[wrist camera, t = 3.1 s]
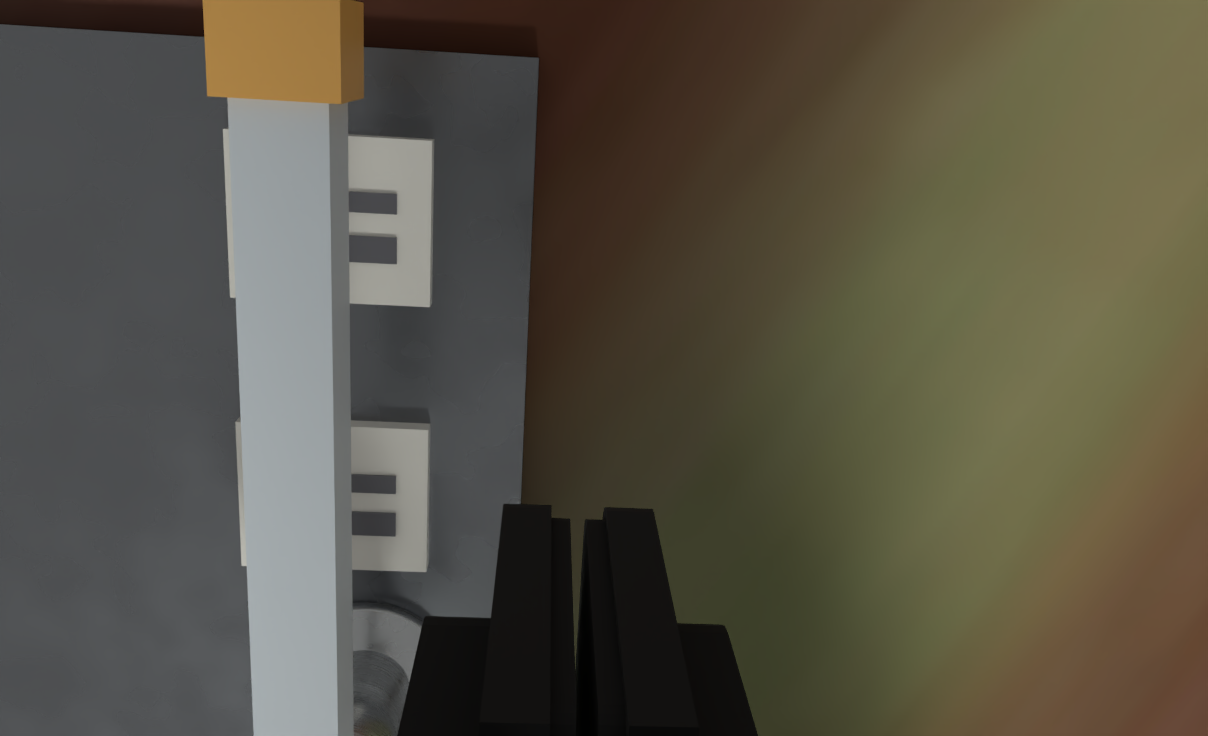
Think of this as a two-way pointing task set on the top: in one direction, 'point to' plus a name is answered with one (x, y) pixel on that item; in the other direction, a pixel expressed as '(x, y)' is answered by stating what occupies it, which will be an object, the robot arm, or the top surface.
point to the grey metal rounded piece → (382, 665)
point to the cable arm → (293, 342)
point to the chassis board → (218, 369)
